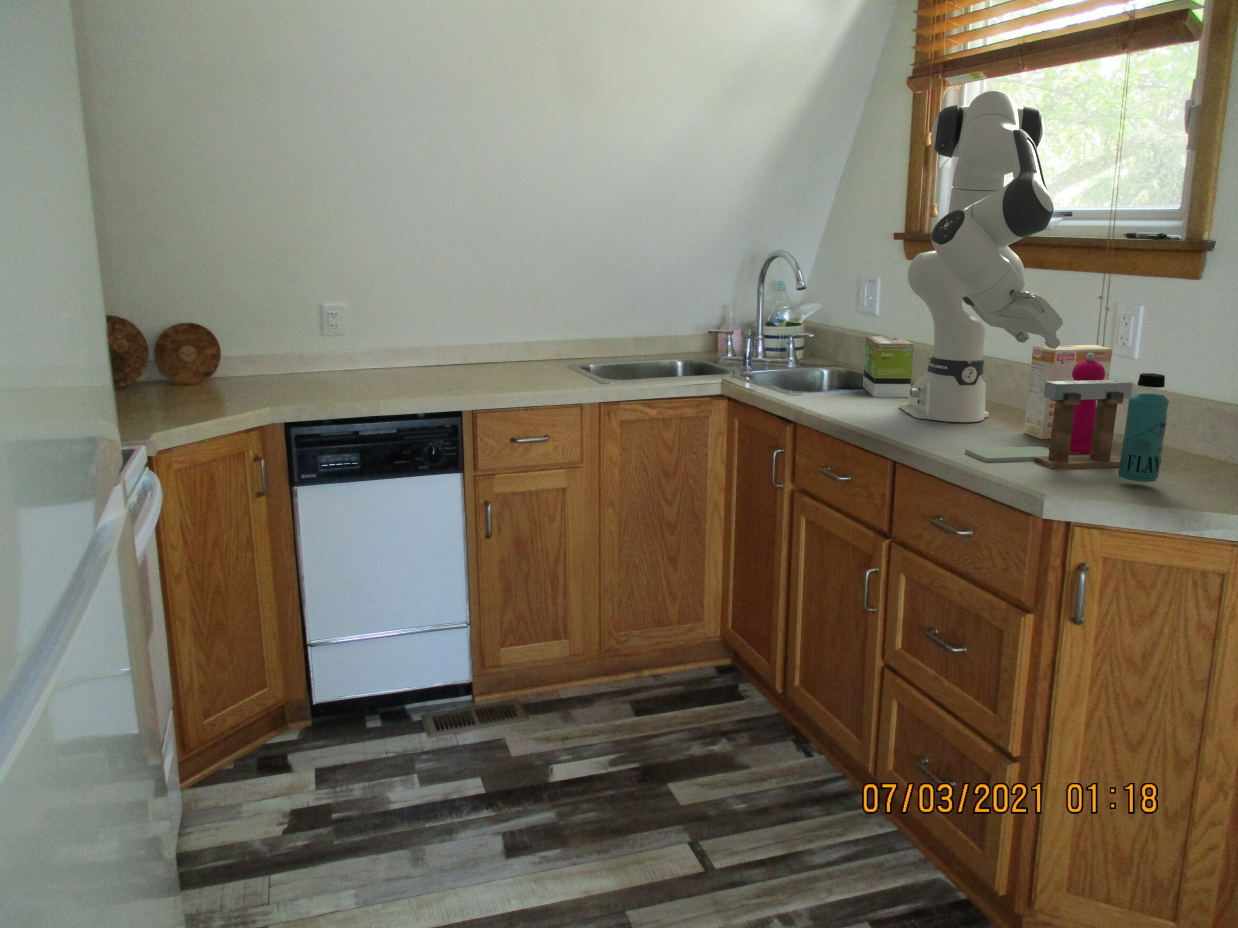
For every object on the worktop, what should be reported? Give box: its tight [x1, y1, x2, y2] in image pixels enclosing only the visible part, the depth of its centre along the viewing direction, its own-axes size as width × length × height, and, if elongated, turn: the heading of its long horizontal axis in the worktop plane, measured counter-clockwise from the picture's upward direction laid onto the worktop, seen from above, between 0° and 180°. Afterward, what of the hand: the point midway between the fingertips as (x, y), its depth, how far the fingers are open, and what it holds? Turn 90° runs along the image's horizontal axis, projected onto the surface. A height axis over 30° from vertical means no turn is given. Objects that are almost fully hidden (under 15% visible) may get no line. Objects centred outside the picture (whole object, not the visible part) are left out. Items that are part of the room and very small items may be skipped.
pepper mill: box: [1069, 353, 1105, 455], centre depth 198 cm, size 7×7×20 cm
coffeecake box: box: [1023, 344, 1113, 440], centre depth 213 cm, size 15×7×20 cm, turn 102°
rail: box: [1044, 379, 1133, 400], centre depth 185 cm, size 4×16×3 cm, turn 101°
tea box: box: [862, 335, 914, 398], centre depth 265 cm, size 15×10×15 cm, turn 178°
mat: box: [964, 446, 1050, 463], centre depth 195 cm, size 8×17×1 cm, turn 101°
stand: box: [1033, 393, 1124, 470], centre depth 187 cm, size 6×15×14 cm, turn 101°
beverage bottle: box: [1117, 372, 1170, 483], centre depth 171 cm, size 6×7×20 cm
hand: (1039, 343), depth 181 cm, fingers open, 8 cm apart
